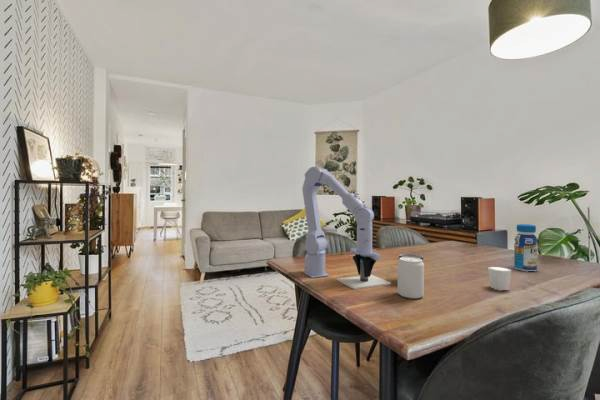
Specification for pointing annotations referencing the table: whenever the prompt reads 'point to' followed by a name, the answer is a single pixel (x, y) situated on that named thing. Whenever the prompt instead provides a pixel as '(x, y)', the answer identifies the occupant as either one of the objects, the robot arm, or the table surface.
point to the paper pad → (357, 284)
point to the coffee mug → (411, 256)
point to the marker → (362, 272)
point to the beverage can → (411, 277)
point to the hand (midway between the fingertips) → (364, 275)
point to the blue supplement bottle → (525, 248)
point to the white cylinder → (499, 278)
